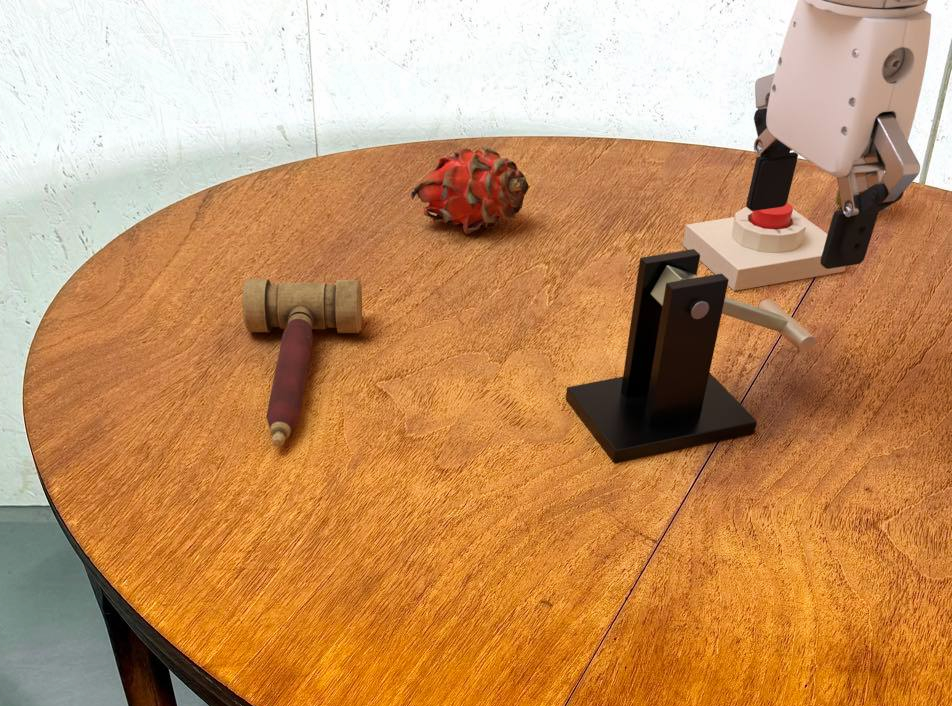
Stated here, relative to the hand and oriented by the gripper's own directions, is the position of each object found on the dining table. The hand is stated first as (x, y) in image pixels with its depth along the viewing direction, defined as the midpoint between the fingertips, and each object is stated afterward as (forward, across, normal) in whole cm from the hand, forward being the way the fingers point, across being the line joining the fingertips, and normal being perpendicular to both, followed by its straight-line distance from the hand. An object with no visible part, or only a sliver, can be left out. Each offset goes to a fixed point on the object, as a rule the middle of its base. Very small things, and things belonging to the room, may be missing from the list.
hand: (801, 234), depth 77 cm
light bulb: (+14, +27, -27) cm, 41 cm away
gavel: (+14, +14, +36) cm, 41 cm away
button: (+10, +21, -13) cm, 26 cm away
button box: (+14, +21, -13) cm, 28 cm away
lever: (+6, 0, +5) cm, 8 cm away
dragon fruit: (+14, +37, +12) cm, 41 cm away
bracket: (+14, 0, +9) cm, 17 cm away
